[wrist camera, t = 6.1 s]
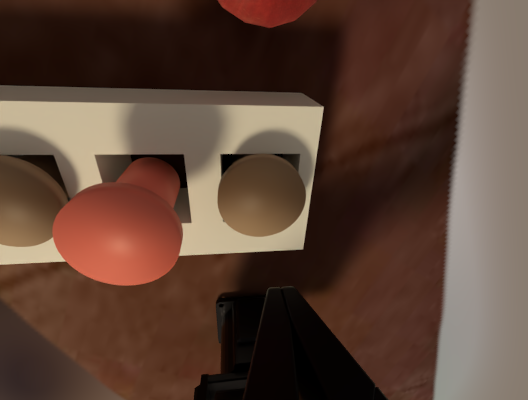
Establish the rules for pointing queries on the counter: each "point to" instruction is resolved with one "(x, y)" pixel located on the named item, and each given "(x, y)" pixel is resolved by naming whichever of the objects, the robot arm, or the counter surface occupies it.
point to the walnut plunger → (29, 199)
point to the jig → (162, 149)
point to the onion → (267, 10)
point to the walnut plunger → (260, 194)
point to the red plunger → (123, 226)
